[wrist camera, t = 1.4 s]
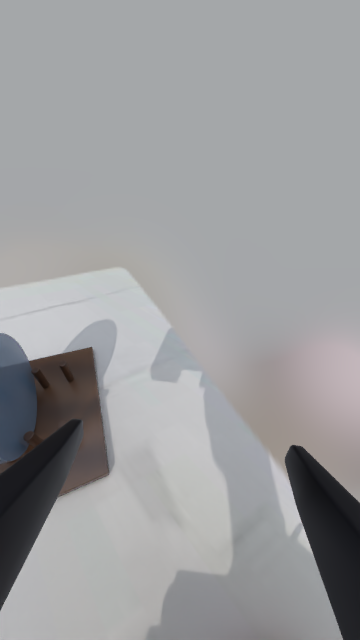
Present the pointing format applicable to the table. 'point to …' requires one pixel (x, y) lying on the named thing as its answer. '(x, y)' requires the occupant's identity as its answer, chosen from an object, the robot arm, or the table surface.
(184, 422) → the table surface
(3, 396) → the plate
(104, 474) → the rack
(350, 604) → the robot arm
